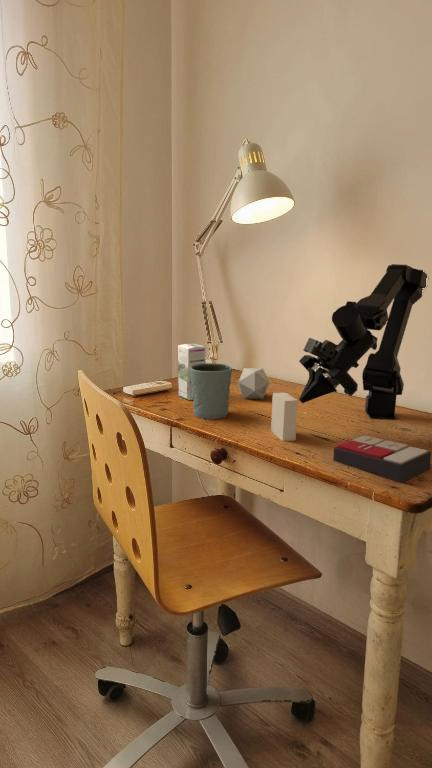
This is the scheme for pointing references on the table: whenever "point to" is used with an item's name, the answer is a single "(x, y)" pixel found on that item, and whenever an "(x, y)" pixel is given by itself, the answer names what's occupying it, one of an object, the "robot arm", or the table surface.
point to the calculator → (383, 458)
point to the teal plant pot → (211, 389)
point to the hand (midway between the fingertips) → (300, 401)
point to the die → (253, 383)
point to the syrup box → (188, 367)
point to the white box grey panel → (284, 416)
